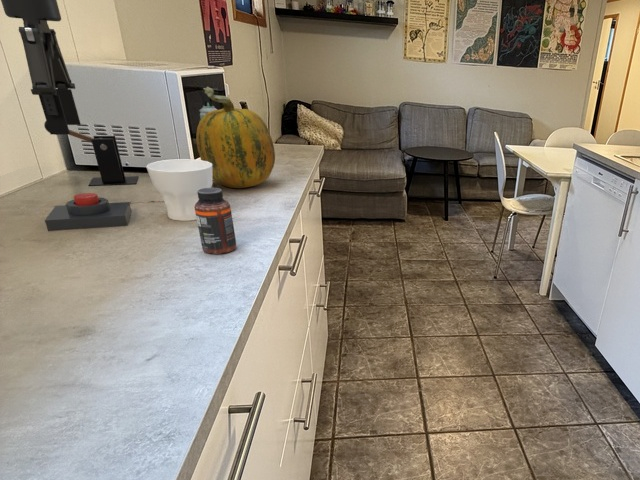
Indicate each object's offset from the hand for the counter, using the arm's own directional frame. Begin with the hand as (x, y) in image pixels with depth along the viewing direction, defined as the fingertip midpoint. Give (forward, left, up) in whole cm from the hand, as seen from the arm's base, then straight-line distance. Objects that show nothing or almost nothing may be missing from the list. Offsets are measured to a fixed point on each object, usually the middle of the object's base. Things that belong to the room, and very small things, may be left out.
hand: (66, 129), depth 89 cm
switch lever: (-18, +24, -8) cm, 31 cm away
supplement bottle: (+31, -10, -18) cm, 37 cm away
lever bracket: (-13, +27, -18) cm, 35 cm away
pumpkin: (+16, +36, -18) cm, 43 cm away
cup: (+16, +8, -18) cm, 26 cm away
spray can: (+5, +46, -18) cm, 50 cm away
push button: (0, 0, -15) cm, 15 cm away
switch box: (0, 0, -18) cm, 18 cm away
